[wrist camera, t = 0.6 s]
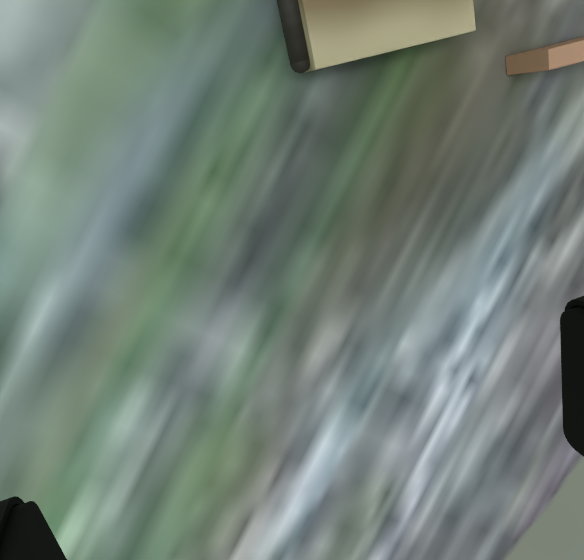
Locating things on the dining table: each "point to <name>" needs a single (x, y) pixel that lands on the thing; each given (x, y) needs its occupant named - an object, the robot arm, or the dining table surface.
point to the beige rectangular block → (366, 27)
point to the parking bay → (546, 57)
